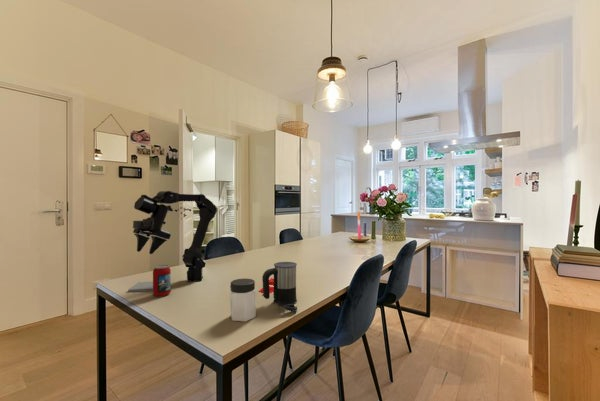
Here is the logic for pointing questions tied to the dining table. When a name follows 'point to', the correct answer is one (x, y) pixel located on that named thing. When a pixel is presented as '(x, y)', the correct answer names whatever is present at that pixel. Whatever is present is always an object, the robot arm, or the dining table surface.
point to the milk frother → (282, 284)
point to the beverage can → (161, 280)
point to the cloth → (271, 289)
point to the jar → (242, 299)
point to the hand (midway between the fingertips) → (144, 252)
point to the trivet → (142, 287)
